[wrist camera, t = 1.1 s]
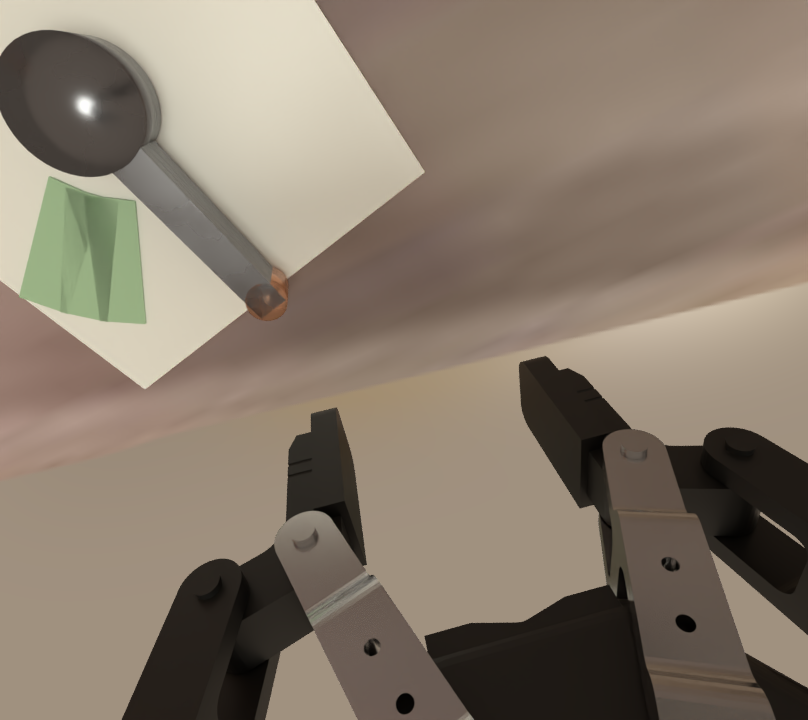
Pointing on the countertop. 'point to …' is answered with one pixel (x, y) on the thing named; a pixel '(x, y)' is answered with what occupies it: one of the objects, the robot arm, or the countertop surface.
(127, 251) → the dial plate
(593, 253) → the countertop surface
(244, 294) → the metal serving spoon
